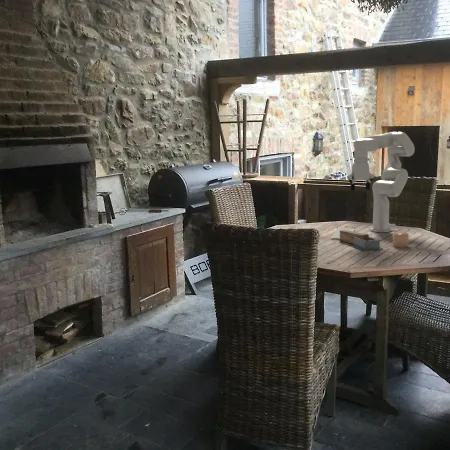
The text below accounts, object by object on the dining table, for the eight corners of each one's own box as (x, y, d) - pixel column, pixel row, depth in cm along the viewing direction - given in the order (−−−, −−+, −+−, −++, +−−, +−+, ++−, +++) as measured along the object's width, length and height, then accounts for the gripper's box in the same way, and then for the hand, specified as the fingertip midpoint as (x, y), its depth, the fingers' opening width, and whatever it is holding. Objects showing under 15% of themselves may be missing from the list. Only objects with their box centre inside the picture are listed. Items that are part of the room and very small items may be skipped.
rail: (345, 240, 303) (345, 229, 302) (368, 245, 285) (368, 234, 284) (339, 240, 301) (339, 230, 300) (362, 245, 283) (362, 235, 282)
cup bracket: (369, 243, 292) (369, 235, 291) (382, 249, 278) (383, 240, 278) (350, 245, 289) (350, 236, 288) (363, 251, 275) (363, 241, 274)
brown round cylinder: (402, 244, 290) (403, 231, 289) (411, 247, 282) (411, 234, 281) (389, 245, 288) (390, 232, 287) (398, 248, 280) (398, 235, 279)
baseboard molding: (327, 240, 307) (348, 241, 302) (327, 235, 306) (348, 236, 302) (336, 230, 335) (354, 231, 331) (336, 225, 335) (355, 226, 330)
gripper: (370, 159, 308) (369, 188, 311) (344, 161, 303) (343, 190, 306) (377, 160, 301) (376, 189, 304) (350, 161, 296) (350, 191, 299)
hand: (360, 189), depth 305 cm, fingers open, 9 cm apart
